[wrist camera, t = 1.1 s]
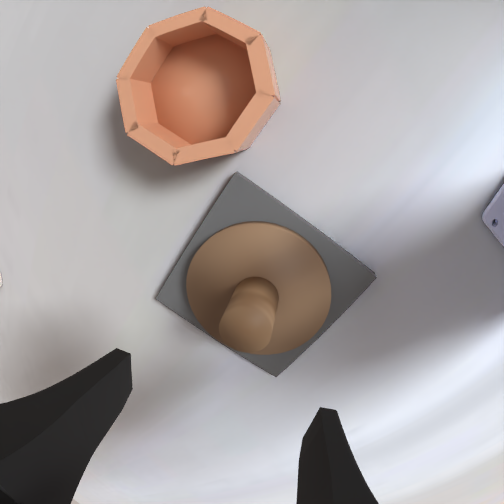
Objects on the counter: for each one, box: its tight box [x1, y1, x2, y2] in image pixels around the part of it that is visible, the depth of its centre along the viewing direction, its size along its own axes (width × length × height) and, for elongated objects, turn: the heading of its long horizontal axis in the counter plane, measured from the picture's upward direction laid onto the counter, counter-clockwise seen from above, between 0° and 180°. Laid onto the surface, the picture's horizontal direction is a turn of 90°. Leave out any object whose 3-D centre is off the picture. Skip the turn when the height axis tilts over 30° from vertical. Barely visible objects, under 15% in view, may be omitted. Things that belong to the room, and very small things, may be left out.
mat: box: [156, 172, 377, 377], centre depth 20 cm, size 10×10×1 cm
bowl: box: [116, 7, 281, 166], centre depth 15 cm, size 8×8×3 cm
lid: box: [186, 221, 331, 355], centre depth 18 cm, size 9×9×4 cm
